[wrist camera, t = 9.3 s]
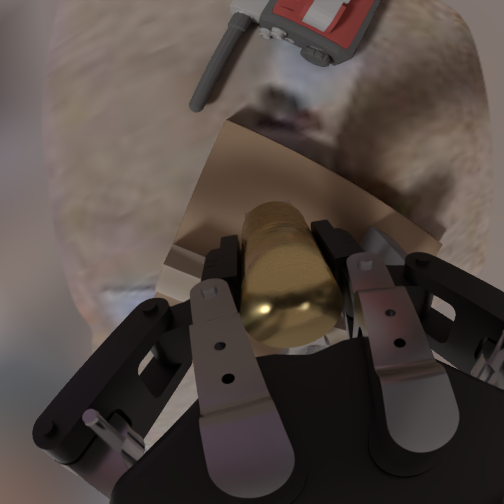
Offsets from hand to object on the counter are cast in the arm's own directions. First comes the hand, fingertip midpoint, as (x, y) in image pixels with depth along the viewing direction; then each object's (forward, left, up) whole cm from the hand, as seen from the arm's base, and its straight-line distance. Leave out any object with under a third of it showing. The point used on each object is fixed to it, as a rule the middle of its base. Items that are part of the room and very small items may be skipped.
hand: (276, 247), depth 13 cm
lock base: (-7, -6, -9) cm, 13 cm away
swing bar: (-3, -3, -3) cm, 6 cm away
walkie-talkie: (+14, +4, -10) cm, 17 cm away
